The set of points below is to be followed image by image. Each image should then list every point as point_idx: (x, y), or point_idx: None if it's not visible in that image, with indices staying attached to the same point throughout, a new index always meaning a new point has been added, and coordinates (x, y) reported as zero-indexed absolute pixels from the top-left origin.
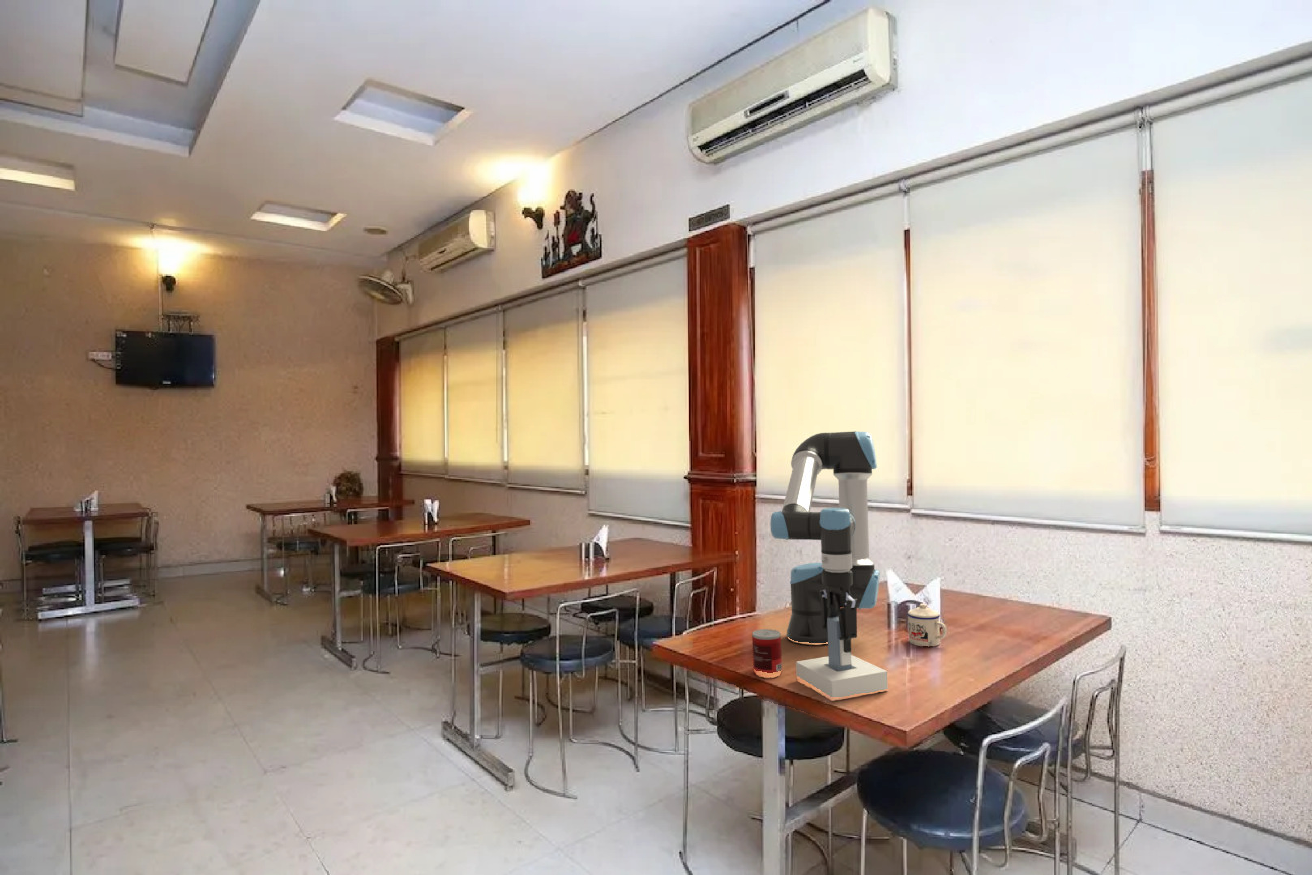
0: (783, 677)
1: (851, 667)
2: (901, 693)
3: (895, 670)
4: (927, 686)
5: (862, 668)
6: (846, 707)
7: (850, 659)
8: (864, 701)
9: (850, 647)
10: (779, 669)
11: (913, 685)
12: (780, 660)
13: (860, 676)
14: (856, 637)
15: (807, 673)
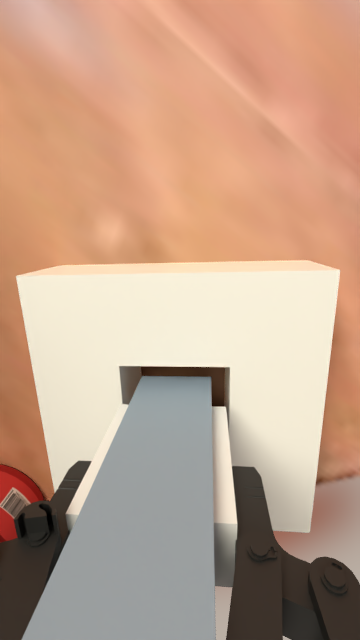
0: (47, 477)
1: (210, 384)
2: (352, 222)
3: (110, 47)
4: (353, 44)
5: (245, 350)
6: (345, 462)
7: (227, 423)
8: (337, 390)
9: (264, 496)
10: (26, 503)
11: (308, 105)
12: (2, 522)
13: (322, 415)
14: (342, 563)
15: None
